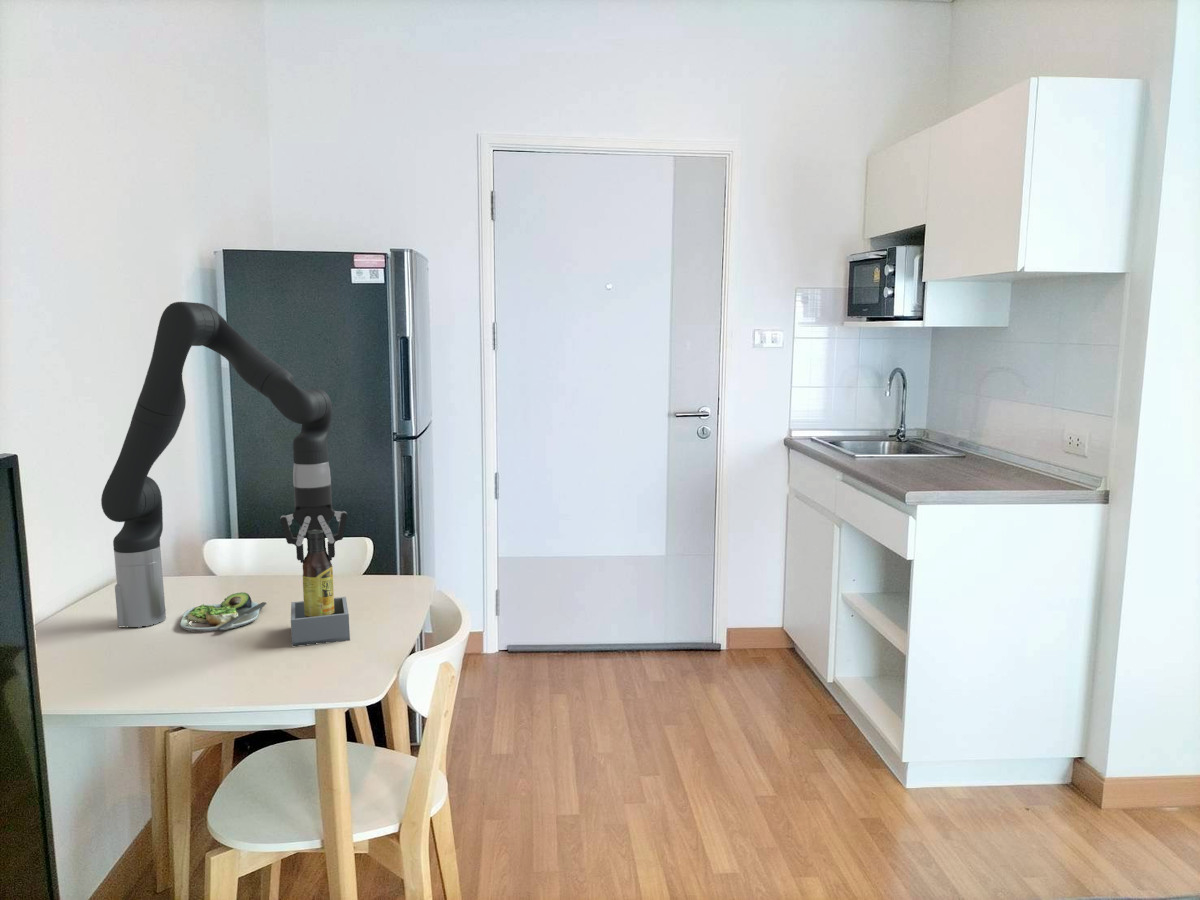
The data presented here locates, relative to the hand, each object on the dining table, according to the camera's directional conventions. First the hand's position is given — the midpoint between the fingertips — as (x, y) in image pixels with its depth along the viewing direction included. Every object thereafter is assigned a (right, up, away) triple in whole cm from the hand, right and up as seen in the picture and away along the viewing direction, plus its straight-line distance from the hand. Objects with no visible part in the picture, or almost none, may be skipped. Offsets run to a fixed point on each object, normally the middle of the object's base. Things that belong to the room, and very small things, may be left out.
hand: (316, 560), depth 185 cm
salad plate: (-26, -16, +13) cm, 32 cm away
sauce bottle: (0, -14, +2) cm, 14 cm away
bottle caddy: (0, -16, +2) cm, 16 cm away
